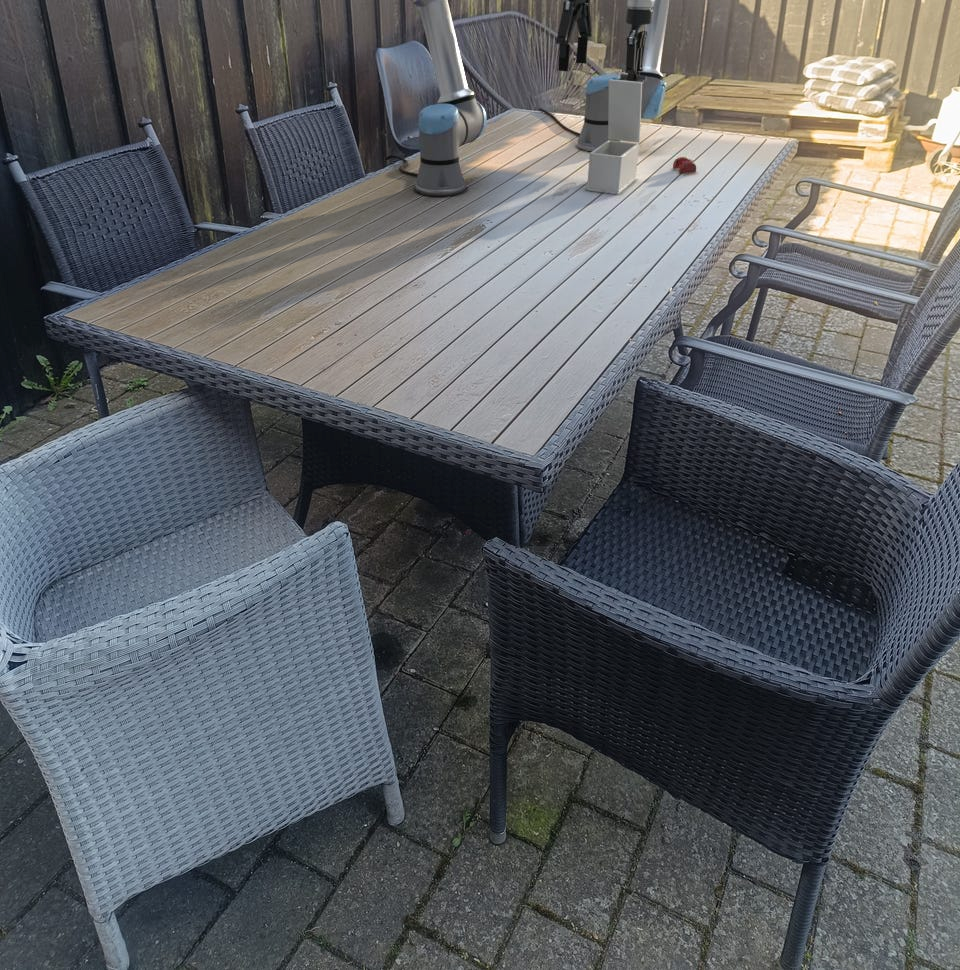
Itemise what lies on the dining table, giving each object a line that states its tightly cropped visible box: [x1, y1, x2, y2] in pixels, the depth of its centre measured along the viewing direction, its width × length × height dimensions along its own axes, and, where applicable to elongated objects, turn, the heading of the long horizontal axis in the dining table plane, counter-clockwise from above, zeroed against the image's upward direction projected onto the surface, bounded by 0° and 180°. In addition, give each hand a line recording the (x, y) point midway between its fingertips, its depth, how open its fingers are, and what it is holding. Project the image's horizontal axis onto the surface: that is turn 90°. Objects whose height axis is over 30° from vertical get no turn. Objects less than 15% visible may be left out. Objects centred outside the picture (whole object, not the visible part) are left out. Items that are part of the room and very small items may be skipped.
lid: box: [608, 73, 647, 144], centre depth 258 cm, size 18×10×9 cm
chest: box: [586, 140, 640, 195], centre depth 259 cm, size 17×10×11 cm, turn 154°
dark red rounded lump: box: [672, 156, 697, 174], centre depth 274 cm, size 6×4×8 cm
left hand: (572, 67), depth 234 cm, fingers open, 13 cm apart
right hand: (631, 95), depth 258 cm, fingers closed on lid, 2 cm apart
